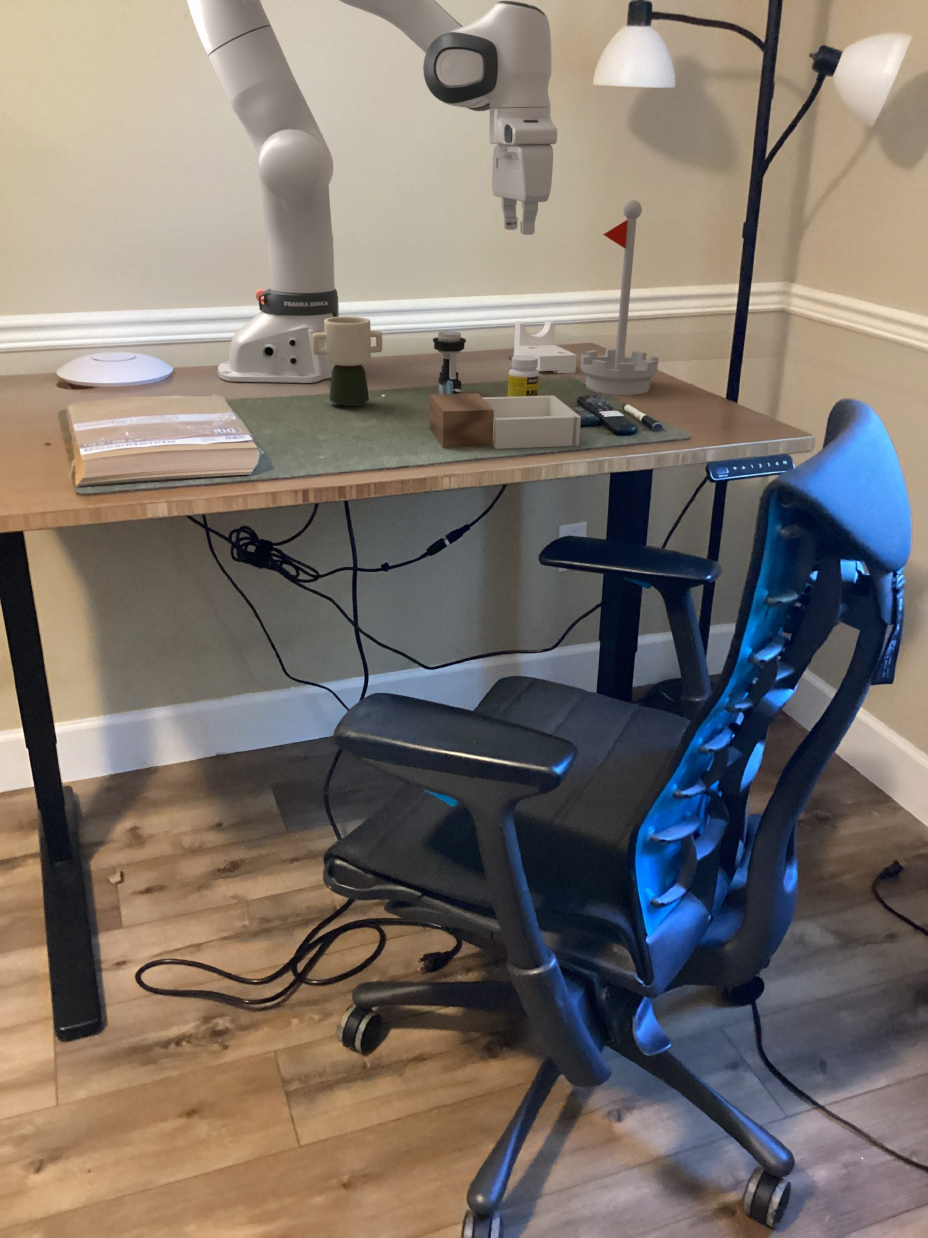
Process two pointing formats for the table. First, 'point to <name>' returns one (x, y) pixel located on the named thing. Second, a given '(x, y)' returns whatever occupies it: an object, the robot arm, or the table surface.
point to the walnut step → (461, 420)
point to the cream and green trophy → (348, 356)
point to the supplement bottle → (523, 376)
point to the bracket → (543, 349)
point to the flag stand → (621, 329)
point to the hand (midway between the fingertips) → (518, 231)
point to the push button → (449, 361)
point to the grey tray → (533, 422)
